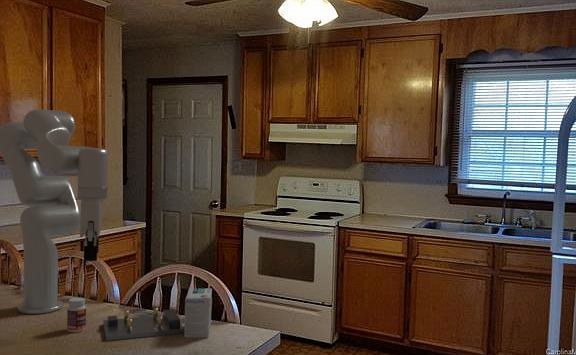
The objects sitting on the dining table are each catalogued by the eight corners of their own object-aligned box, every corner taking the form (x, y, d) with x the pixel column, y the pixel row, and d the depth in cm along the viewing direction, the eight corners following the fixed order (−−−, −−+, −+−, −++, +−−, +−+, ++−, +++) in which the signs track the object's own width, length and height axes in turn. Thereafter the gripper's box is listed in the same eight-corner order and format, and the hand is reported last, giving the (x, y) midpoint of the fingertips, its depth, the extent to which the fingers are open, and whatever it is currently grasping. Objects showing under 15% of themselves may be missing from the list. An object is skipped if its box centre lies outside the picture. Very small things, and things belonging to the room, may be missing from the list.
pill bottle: (79, 333, 142) (79, 302, 141) (63, 331, 143) (63, 300, 142) (89, 327, 146) (89, 297, 146) (73, 326, 147) (74, 296, 147)
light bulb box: (187, 325, 151) (188, 287, 151) (211, 325, 152) (212, 287, 151) (183, 338, 140) (184, 297, 140) (209, 338, 141) (210, 297, 141)
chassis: (103, 324, 149) (103, 309, 149) (174, 318, 157) (174, 304, 157) (106, 340, 136) (106, 324, 136) (183, 333, 144) (184, 317, 144)
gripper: (80, 191, 150) (78, 251, 150) (75, 196, 133) (73, 264, 134) (108, 191, 152) (106, 250, 153) (106, 197, 135) (105, 263, 136)
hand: (91, 256), depth 143 cm, fingers open, 9 cm apart
